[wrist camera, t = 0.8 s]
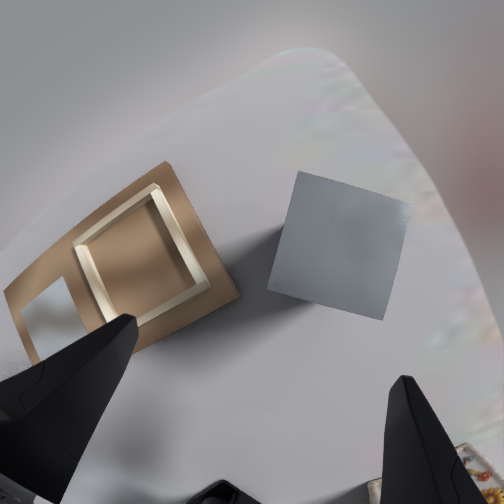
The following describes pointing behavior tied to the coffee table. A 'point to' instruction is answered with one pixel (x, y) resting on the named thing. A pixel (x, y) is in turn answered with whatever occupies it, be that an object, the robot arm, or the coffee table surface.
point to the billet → (339, 246)
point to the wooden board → (122, 271)
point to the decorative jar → (480, 469)
